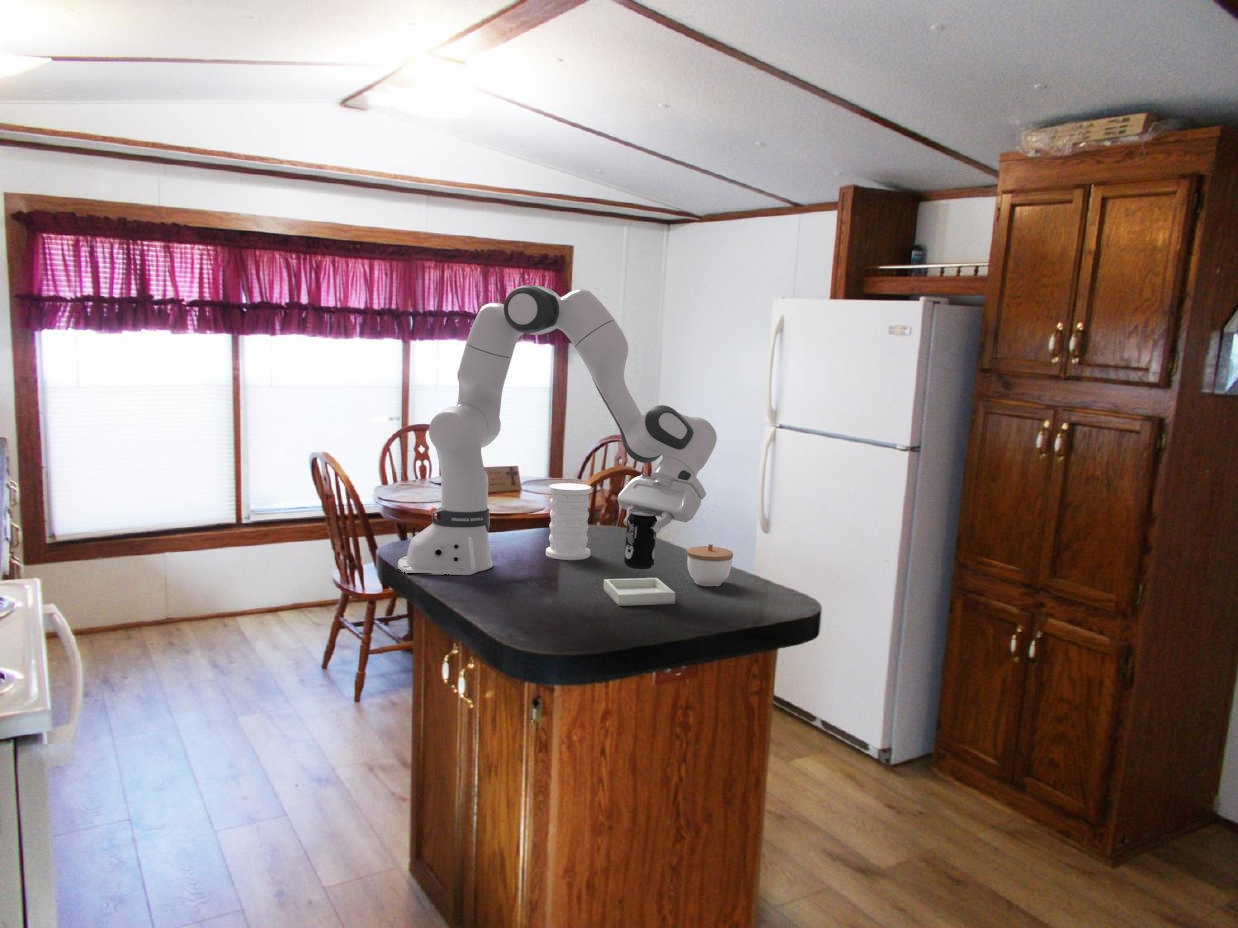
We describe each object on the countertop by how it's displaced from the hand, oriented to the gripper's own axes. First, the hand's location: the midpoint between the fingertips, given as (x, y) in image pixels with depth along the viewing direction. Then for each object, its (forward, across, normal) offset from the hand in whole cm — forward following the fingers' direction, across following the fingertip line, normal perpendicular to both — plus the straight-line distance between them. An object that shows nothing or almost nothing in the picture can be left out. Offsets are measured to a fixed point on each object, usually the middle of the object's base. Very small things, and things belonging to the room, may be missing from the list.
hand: (639, 527), depth 199 cm
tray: (+11, 0, +11) cm, 15 cm away
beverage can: (+6, 0, +6) cm, 9 cm away
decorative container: (+1, -38, +21) cm, 44 cm away
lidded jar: (-5, +2, +27) cm, 27 cm away
